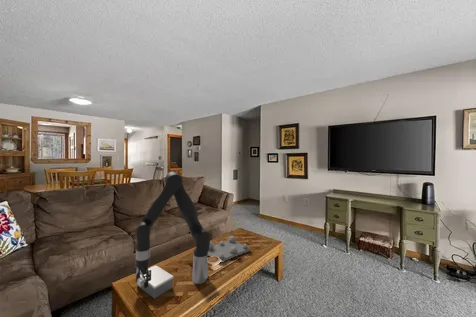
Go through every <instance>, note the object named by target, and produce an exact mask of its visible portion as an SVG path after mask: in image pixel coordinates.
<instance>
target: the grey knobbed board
mask: <svg viewBox="0 0 476 317" xmlns="http://www.w3.org/2000/svg"><path fill="white" fill-rule="evenodd" d="M248 252H251V248H249V246H248V244H247V243H240V242H238V241H237V239H236V237H235V236H233V235H230V236H228V240H226V241H223V240H220V241H219V243H217V244H214V243H213V242H212V241H210V245H209V250H208V257H209V256H213V255H216V256H218V257H219V258H220V259H221V260H222V261H224V262H226V261H225V260H227V261H229V260H232V259H234V258H236V257H238V255H239V256H241V255H243V253H244V254H246V253H248ZM235 256H236V257H235ZM233 257H234V258H233ZM231 258H232V259H231ZM228 259H229V260H228Z"/></svg>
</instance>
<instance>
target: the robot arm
mask: <svg viewBox="0 0 476 317" xmlns="http://www.w3.org/2000/svg"><path fill="white" fill-rule="evenodd" d="M164 182H165V185H164V187H163V189H162V191H161V193H160V194H159V195H158V197H157V198H156V199H155V200H154V201H153V202H152V203H151V204H150V207H149V208H148V210H147V212H146V214H145V215H144V217H143V218H142V220H140V222H139V224H138V226H137V228H136V234H135V236H136V252H135V263H134V264H133V274H135V283H137V279H139V278H140V274H141V276H142V278H143V279H144V288H147V287H148V282H149V281H151V270H148V269H149V265H150V263H151V239H150V237H151V236H150V235H151V229H152V227H153V225H154V224H155V222H156V221H157V220H158V219H159V217H160V215H161V214H162V212H163V210H164V209H165V208H166V206H167V204H168V203H169V201H170V200H171V199H172V197H173V196H174V200H175V202H176V205H177V208H178V210H179V213H180V214H181V216H182V218H183V219H184V222H185V223H186V224H187V226H188V227H189V232H190V234H191V236H192V239H193V240H194V241H195V243H196V245H195V248H193V253H192V255H193V256H192V277H191V278H192V279H191V280H192V283H194V284H196V285H201V284H204V283H205V282H206V281H207V279H209V276H208V275H209V263H208V257H209V256H208V250H209V245H210V242H211V235H210V233H209V231H207V230H206V229H205V228H204V227H203V226H202V224H201V223H200V221H199V216H198V211H197V208H196V206H195V203H194V202H193V200H192V199H191V196H190V195H189V194H188V192H187V191H186V189H185V187H184V184H183V177H182V176H181V175H180V173H178V172H177V171H169V172H168V173H167V174H166V175H165V179H164ZM145 274H146V275H145ZM144 275H145V276H144ZM145 277H146V279H145Z"/></svg>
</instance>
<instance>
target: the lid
mask: <svg viewBox="0 0 476 317" xmlns="http://www.w3.org/2000/svg"><path fill="white" fill-rule="evenodd" d="M148 270H151V281H149V282H148V284H149V285H150V286H151V287H153V288H154V289H155V288H157V287H159V286H160V285H162V284H164V283H166V282H167V281H169V280H171V279H173V280H174V275H172V274H171V273H169V272H167V271H166V270H164V269H163V268H161V267H160V266H157V265H156V264H155V265H153V266H151V267H148ZM145 275H146V274H145ZM145 275H144V276H145ZM145 279H146V277H145ZM136 285H139V286H140V287H141V286H143V285H144V279H143V278H142V276H141V274H140V278H139V279H137V282H136ZM139 286H138V287H139ZM140 287H139V288H140Z"/></svg>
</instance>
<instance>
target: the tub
mask: <svg viewBox="0 0 476 317" xmlns="http://www.w3.org/2000/svg"><path fill="white" fill-rule="evenodd" d="M173 280H174V278H173V279H171V280H169V281H167V282H166V283H164V284H162V285H160V286H159V287H157V288H155V289H154V288H153V287H151V286H150V285H149V284H148V287H147V288H144V285H143V286H141V287H140V286H139V285H137V284H136V285H137V287H139V288H140V289H141V290H142V291H143V292H145V293H146V294H147V295H149V296H150V297H152V298H153V299H154V300H155V299H157V298H158V297H159V296H161V295H163V294H164V293H167V292H168V291H169V290H171V289H172V288H173Z"/></svg>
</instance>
